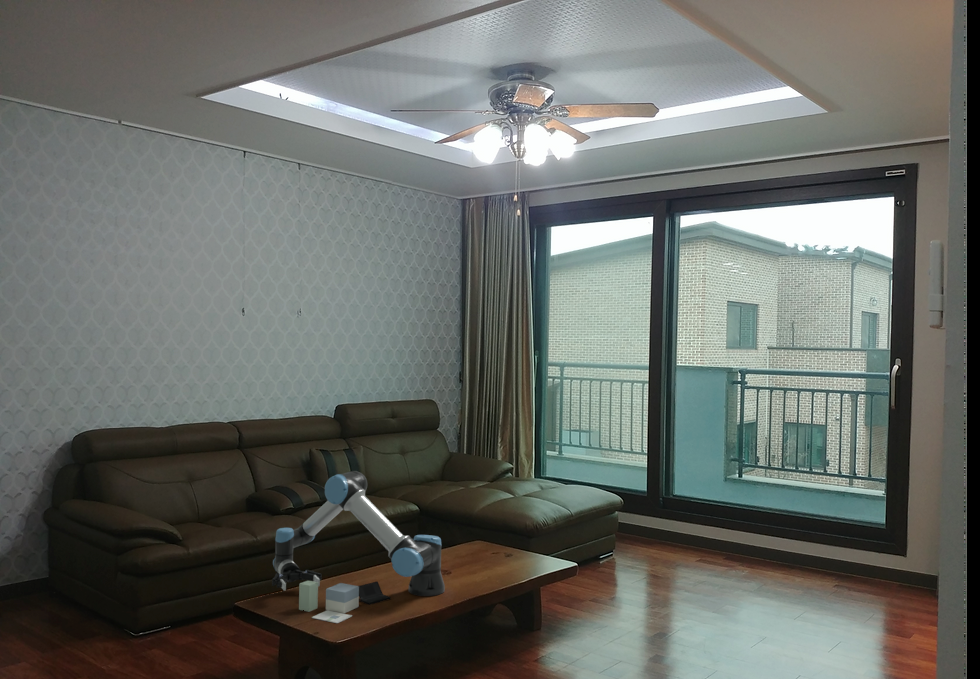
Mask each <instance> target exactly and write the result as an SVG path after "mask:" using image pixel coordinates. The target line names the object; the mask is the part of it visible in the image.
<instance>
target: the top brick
mask: <svg viewBox="0 0 980 679" xmlns="http://www.w3.org/2000/svg"><path fill="white" fill-rule="evenodd" d="M298 588H299V589H298V594H299V595H298V610H300V611H303V610H304V611H303V612H312V611H315V610H316V609H318V604H319V603H318V602H319V601H318V600H319V598H318V597H319V586H318V582H314V581H311V580H305V581H303V582H300V583H299V586H298Z"/></svg>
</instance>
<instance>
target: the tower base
mask: <svg viewBox="0 0 980 679" xmlns="http://www.w3.org/2000/svg"><path fill="white" fill-rule="evenodd" d="M359 586H360V585H353V584H349V583H343V582H339V583H337V584H334V585H332V586H330V587H327V588H325V611H327V610H328V611H333V612H338V613H343V614H346V613H349V612H351V611H353V610H354V609H358V608H359V607H360V606H359V601H360V597H359Z"/></svg>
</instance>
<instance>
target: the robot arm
mask: <svg viewBox="0 0 980 679" xmlns="http://www.w3.org/2000/svg"><path fill="white" fill-rule="evenodd" d="M367 488H368V480H367V478H366V476H365V475H364V474H363V473H362V472H359V471H357V470H352V471H347V472H344V473H343V472H342V473H337V474H335V475H333V476H331V477H329V478H328V479H327V480H326V483H325V485H324V495H325V498H326V502H325V503H323V504H322V506H319V508H318V509H317V510H316V511H315V512H314V513H313V514H312V515H311V516H309V517H308V518H307V519H306V520H305V521H304V522H303V523H302V524H301V525H300V526H299V527H297V528H295V529H293V528H292V527H280V528H278V529H277V530H276V533H275V539H274V541H275V552H274V553H275V555H274V559H272V565H273V568H274V570H275V572H276V573H275V575H274V577H273V578H272V579H271V587H274V586H276V588H281V589H282V590H283V591H286V590H287V583H292V582H296V581H299V580H300V581H303V580H305V581H314V582H318V587H321V586H320V583H321V581H322V579H323V578H322V573H320V572H316V571H313V570H310V569H305V571H304V570H301V569H300V567H299V566H298V565H297V564H296V563H295V562H294V549H295V548H298V547H300V546H303V545H306V544H309V543H311V542H312V541H313V540H314V539H315V538H316V535H317V534H318V533H319V532H320V531H321V530H323V529H324V527H326V526H327V525H328V524H329V523H330V522H331V521H332V520H333V519H334V518H336V517H337V516H338V515H339V514H340V513H341V512H342V511H344V512H347V511H349V512H351V513H352V514H353V516H354V517H355V518H356V519H357V520H358V521H359V522H360V523H361V524H362V525H363V526H364V527H365V529H366V530H368V531H369V532H370V533H371V534H372V535H373V536H374V538H375V539H377V541H379V543H380V544H381V545H382V546H383V547H384V548H385V550H386V551H388V557H389V559H390V560H391V566H392V568H393V570H394V571H395V573H396V574H398V575H399V576H401V577H406V578H410V580H409V584H408V593H410V594H411V595H415V596H419V597H433V596H439V595H442V594H443V593H445V592H446V590H445V589H446V588H445V587H446V586H445V582H444V578H443V574H442V571H441V570H442V569H441V568H442V539H441V537H439V536H438V535H429V534H417V535H414V537H413V538H412V537H411V536H410V535H404V534H403V533H402V532H401V531H400V530H399V529H398V528H397V527H396V526H395V525H394V524H393V523H392V522H391V521H390V520H389V519H388V518H387V517H386V515H384V514H383V512H381V510H379V508H378V507H376V505H375V504H373V502H371V500H370V499H369V498H368V497H367V496H366V491H367Z"/></svg>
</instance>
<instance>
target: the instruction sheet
mask: <svg viewBox="0 0 980 679" xmlns="http://www.w3.org/2000/svg"><path fill="white" fill-rule="evenodd" d="M351 617H353V615H352V614H346V613H339V612H335V611H330V610H324V611H323V612H320V613H318V614H316V615H313V616H311V619H315V620H319V621H325V622H330V623H335V624H339V623H341V622H344V621H346V620H347V619H349V618H351Z"/></svg>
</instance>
